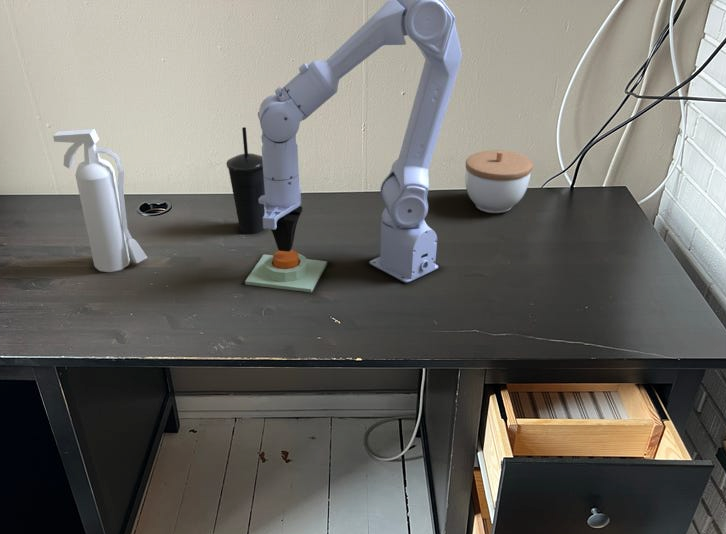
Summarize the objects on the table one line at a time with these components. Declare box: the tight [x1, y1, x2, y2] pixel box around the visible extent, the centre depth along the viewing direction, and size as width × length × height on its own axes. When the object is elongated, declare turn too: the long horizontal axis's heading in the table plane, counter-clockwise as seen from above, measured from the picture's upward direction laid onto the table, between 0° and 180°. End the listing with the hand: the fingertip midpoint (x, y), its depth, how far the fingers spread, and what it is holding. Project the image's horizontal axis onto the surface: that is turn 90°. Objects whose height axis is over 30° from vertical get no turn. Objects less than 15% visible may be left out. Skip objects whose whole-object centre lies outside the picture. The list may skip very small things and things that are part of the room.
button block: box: [244, 253, 328, 293], centre depth 129 cm, size 12×10×2 cm
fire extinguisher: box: [52, 128, 149, 273], centre depth 128 cm, size 7×12×25 cm, turn 77°
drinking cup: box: [225, 126, 265, 235], centre depth 139 cm, size 8×8×20 cm
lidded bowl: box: [464, 149, 534, 214], centre depth 145 cm, size 13×13×11 cm
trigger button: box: [272, 249, 299, 269], centre depth 128 cm, size 4×4×2 cm
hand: (285, 249), depth 126 cm, fingers closed
